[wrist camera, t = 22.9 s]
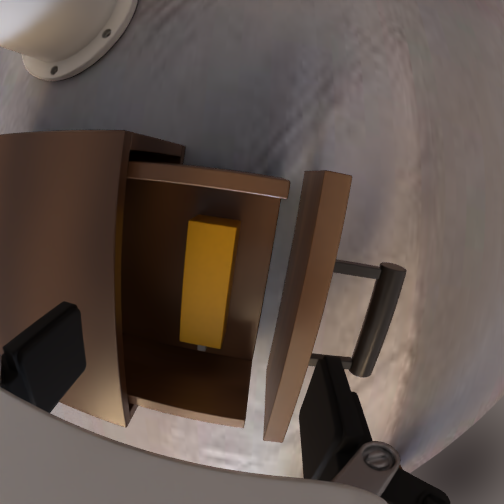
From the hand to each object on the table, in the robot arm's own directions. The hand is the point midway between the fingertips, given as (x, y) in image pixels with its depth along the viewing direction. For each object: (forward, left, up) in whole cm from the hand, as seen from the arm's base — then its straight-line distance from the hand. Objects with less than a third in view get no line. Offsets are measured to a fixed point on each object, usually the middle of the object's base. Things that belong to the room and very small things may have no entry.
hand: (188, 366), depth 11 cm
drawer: (0, 0, -11) cm, 11 cm away
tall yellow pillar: (0, -1, -10) cm, 10 cm away
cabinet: (0, -12, -12) cm, 17 cm away
